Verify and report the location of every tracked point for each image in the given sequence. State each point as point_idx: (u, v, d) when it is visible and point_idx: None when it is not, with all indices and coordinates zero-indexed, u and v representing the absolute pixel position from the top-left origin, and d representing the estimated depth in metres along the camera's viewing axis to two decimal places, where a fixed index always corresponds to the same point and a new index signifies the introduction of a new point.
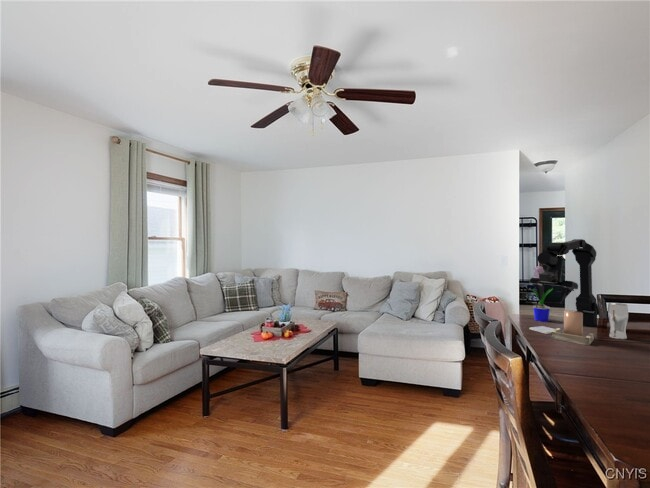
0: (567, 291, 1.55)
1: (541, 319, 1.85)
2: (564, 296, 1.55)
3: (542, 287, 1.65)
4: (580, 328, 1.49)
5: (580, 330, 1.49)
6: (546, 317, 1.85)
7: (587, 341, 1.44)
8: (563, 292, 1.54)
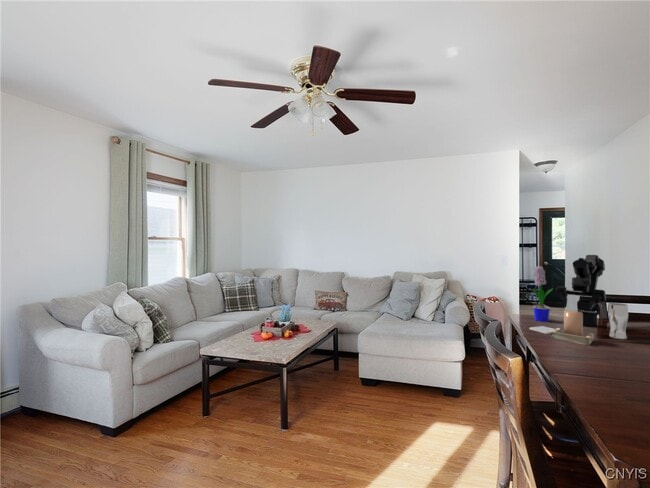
0: (595, 301, 1.57)
1: (541, 319, 1.85)
2: (593, 304, 1.55)
3: (566, 297, 1.65)
4: (580, 328, 1.49)
5: (580, 330, 1.49)
6: (546, 317, 1.85)
7: (587, 341, 1.44)
8: (593, 299, 1.55)
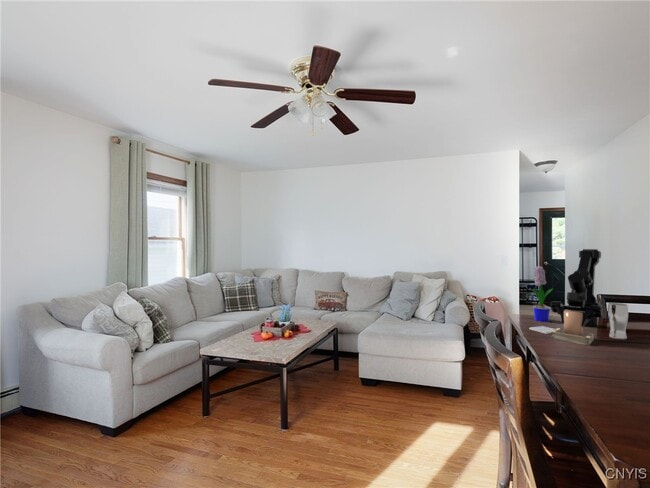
0: (588, 317, 1.51)
1: (541, 319, 1.85)
2: (586, 320, 1.50)
3: None
4: (580, 328, 1.49)
5: (580, 330, 1.49)
6: (546, 317, 1.85)
7: (587, 341, 1.44)
8: (586, 315, 1.50)
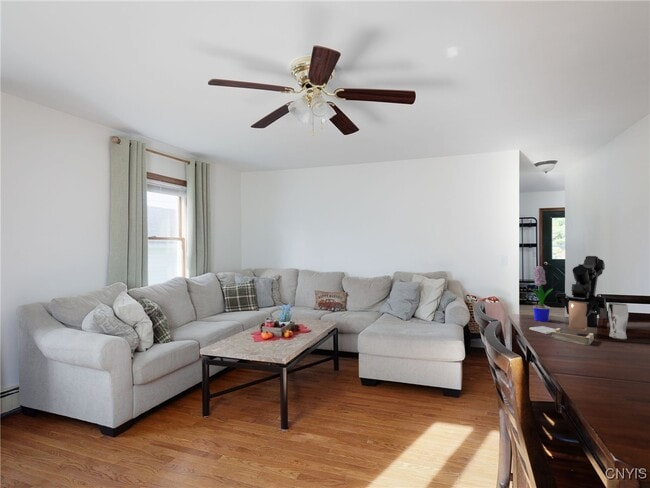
0: (592, 307, 1.57)
1: (541, 319, 1.85)
2: (590, 310, 1.56)
3: None
4: (584, 318, 1.56)
5: (584, 320, 1.56)
6: (546, 317, 1.85)
7: (587, 341, 1.44)
8: (590, 306, 1.56)
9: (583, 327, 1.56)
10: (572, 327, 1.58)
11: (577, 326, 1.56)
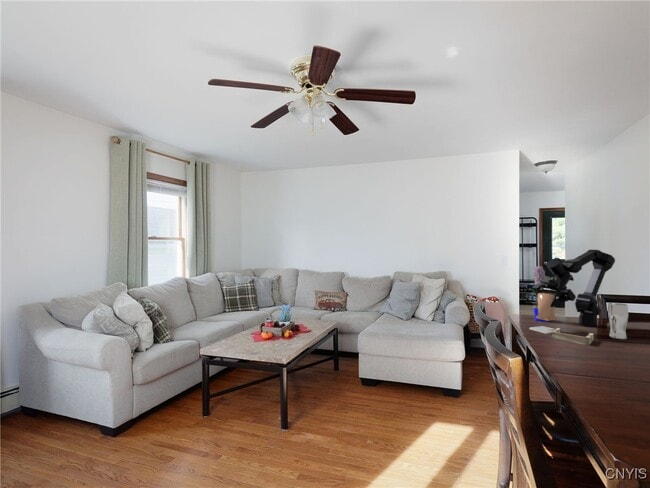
0: (561, 299, 1.62)
1: (541, 319, 1.85)
2: (556, 302, 1.62)
3: None
4: (549, 308, 1.63)
5: (549, 310, 1.63)
6: None
7: (587, 341, 1.44)
8: (557, 297, 1.62)
9: (547, 317, 1.63)
10: (539, 316, 1.67)
11: (542, 316, 1.65)
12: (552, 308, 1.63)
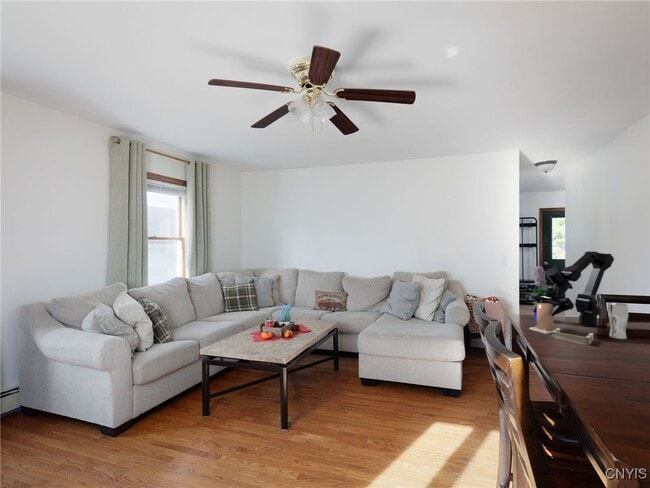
0: (561, 308, 1.62)
1: None
2: (557, 310, 1.61)
3: None
4: (548, 319, 1.63)
5: (548, 321, 1.63)
6: None
7: (587, 341, 1.44)
8: (557, 306, 1.61)
9: (546, 327, 1.64)
10: (537, 326, 1.67)
11: (540, 326, 1.65)
12: (551, 318, 1.63)
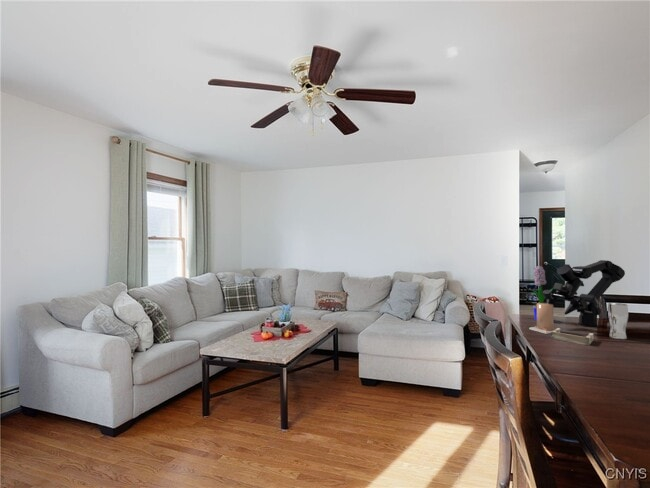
0: (575, 307, 1.64)
1: None
2: (570, 309, 1.64)
3: (552, 301, 1.75)
4: (548, 319, 1.63)
5: (548, 321, 1.63)
6: None
7: (587, 341, 1.44)
8: (571, 305, 1.64)
9: (546, 327, 1.64)
10: (537, 326, 1.67)
11: (540, 326, 1.65)
12: (551, 318, 1.63)
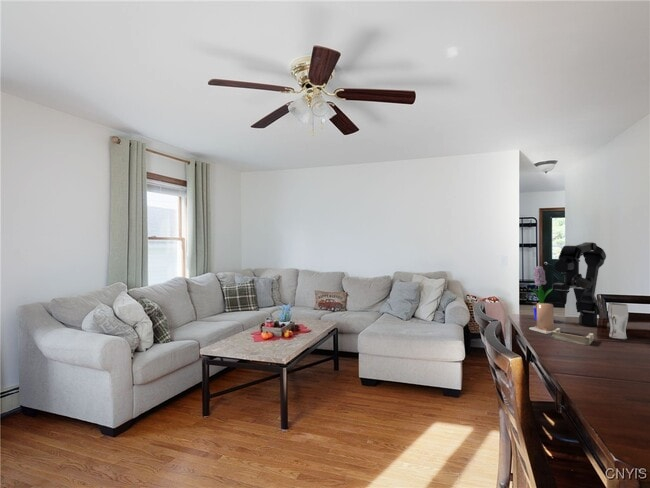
0: None
1: None
2: None
3: None
4: (548, 319, 1.63)
5: (548, 321, 1.63)
6: None
7: (587, 341, 1.44)
8: (583, 293, 1.67)
9: (546, 327, 1.64)
10: (537, 326, 1.67)
11: (540, 326, 1.65)
12: (551, 318, 1.63)
